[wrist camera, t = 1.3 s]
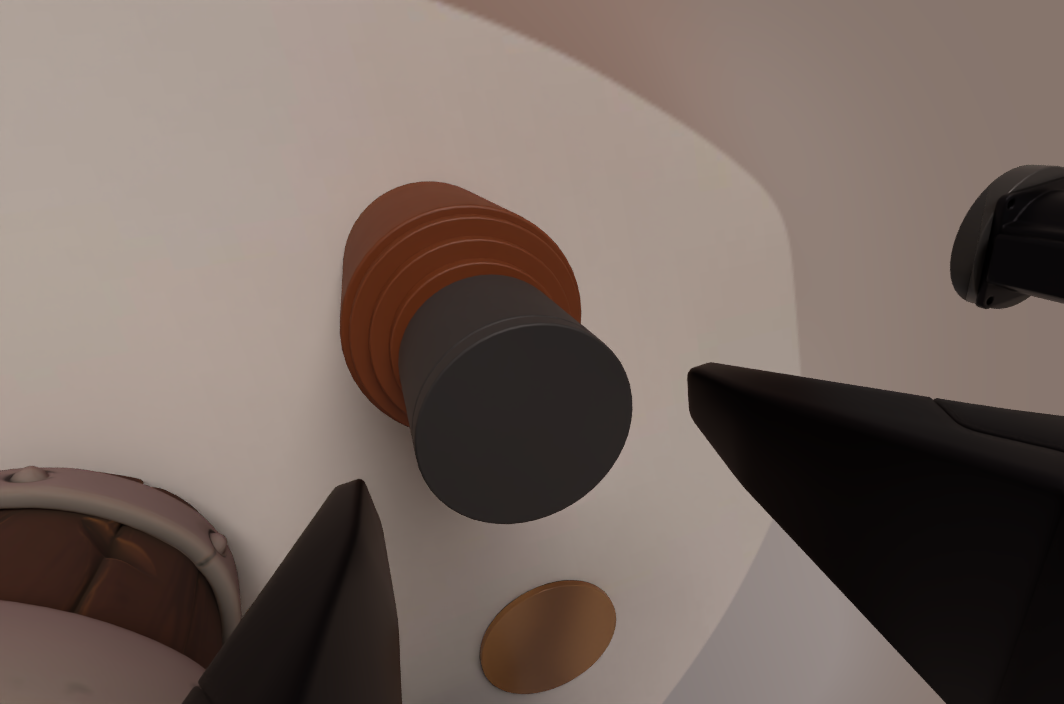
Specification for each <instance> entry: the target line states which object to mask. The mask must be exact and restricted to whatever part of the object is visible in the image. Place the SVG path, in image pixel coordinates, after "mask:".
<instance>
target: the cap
mask: <svg viewBox="0 0 1064 704" xmlns="http://www.w3.org/2000/svg"><path fill="white" fill-rule="evenodd" d="M398 367H399V376H400V381H401V386H402V391H403V396H404V401H405V406H406V411H407V416H408V421H409V426H410V431H411V436H412V441H413V445H414V450H415V455H416V459H417V463H418V467H419V470H420V472H421V474H422V477H423V479H424V481H425V482H426V484H427V485H428V487H429V488H430V490H431V491H432V492H433V493H434V494H435V495H436V497H437V498H438V499H439V500H440V501H442V502H443V503H444V504H445V505H447V506H448V507H449V508H451V509H452V510H454V511H456V512H458V513H459V514H461V515H464V516H466V517H469V518H471V519H474V520H478V521H482V522H487V523H495V524H514V523H523V522H528V521H533V520H537V519H540V518H543V517H547V516H549V515H552V514H554V513H556V512H559V511H561V510H563V509H565V508H566V507H568V506H570V505H572V504H573V503H575V502H576V501H578V500H579V499H581V498H582V497H584V496H585V495H586V494H587V493H588V492H589V491H591V490H592V489H593V488H594V487H595V486H596V485H597V484H598V483H599V482H600V481H601V480H602V479H603V478H604V477H605V475H606V474H607V473H608V472H609V470H610V469H611V468H612V466H613V465H614V463H615V461H616V460H617V458H618V457H619V455H620V453H621V451H622V449H623V447H624V444H625V441H626V439H627V436H628V433H629V429H630V424H631V418H632V395H631V389H630V384H629V381H628V378H627V375H626V372H625V370H624V368H623V366H622V364H621V362H620V361H619V360H618V358H617V357H616V355H615V354H614V353H613V352H612V351H611V350H610V349H609V348H608V347H607V346H606V345H605V344H604V343H603V342H602V341H601V340H600V339H598V338H597V337H596V336H595V335H593V334H592V333H591V332H590V331H589V330H587V329H586V328H585V327H584V326H583V325H581V324H580V323H579V322H578V321H577V320H575V319H574V318H573V317H572V316H570V315H569V314H568V313H567V312H566V311H564V310H563V309H562V308H561V307H560V306H558V305H557V304H556V303H555V302H554V301H552V300H551V299H550V298H549V297H547V296H546V295H545V294H544V293H543V292H541V291H540V290H538V289H537V288H536V287H534V286H533V285H531V284H529V283H527V282H525V281H522V280H520V279H517V278H514V277H509V276H504V275H492V274H490V275H478V276H473V277H468V278H465V279H462V280H459V281H456V282H454V283H452V284H450V285H447V286H445V287H444V288H442V289H441V290H439V291H438V292H436V293H435V294H433V295H432V296H431V297H430V298H429V299H427V300H426V301H425V302H424V303H423V304H422V306H421V307H420V308H419V309H418V310H417V311H416V313H415V314H414V316H413V317H412V318H411V320H410V322H409V324H408V326H407V328H406V329H405V332H404V335H403V337H402V340H401V344H400V349H399V358H398Z"/></svg>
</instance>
